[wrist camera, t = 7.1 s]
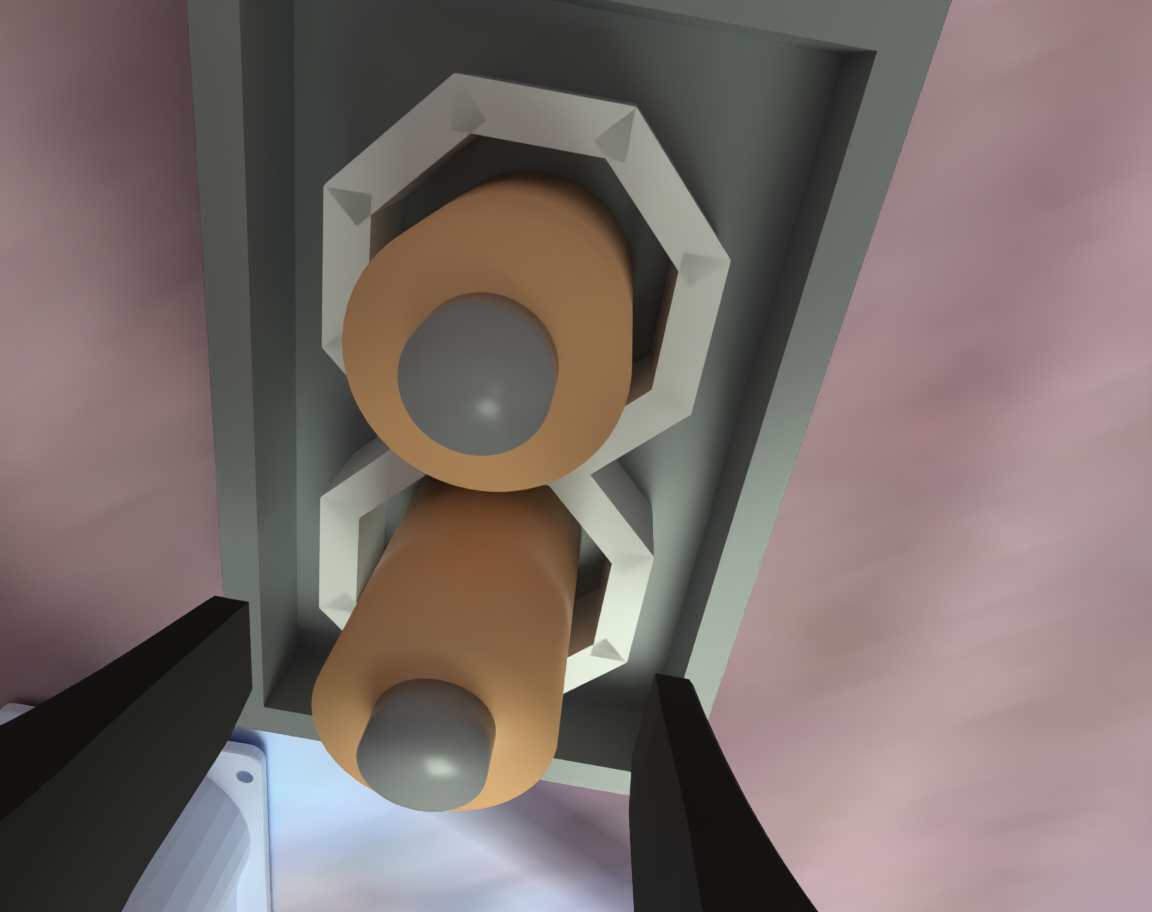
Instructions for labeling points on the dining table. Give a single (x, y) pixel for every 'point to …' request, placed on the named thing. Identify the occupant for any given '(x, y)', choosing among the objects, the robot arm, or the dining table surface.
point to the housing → (532, 299)
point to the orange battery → (456, 651)
